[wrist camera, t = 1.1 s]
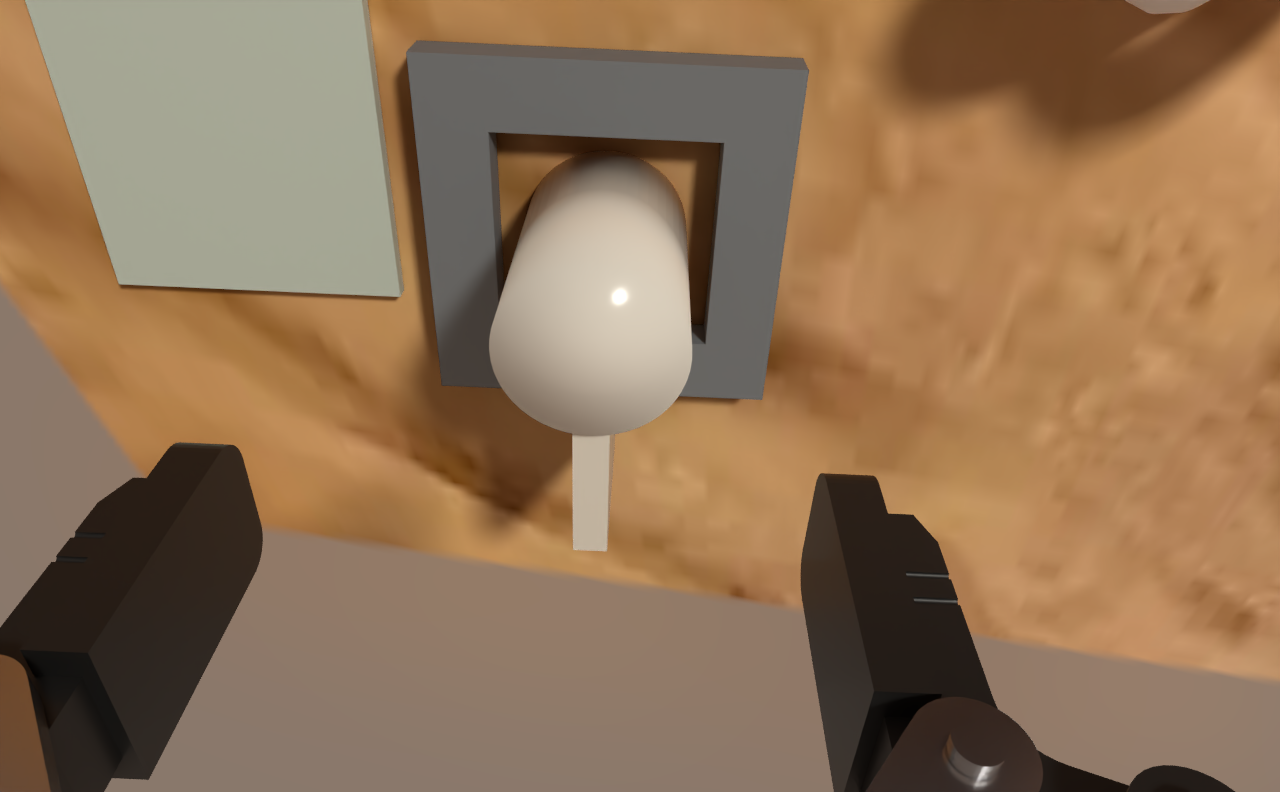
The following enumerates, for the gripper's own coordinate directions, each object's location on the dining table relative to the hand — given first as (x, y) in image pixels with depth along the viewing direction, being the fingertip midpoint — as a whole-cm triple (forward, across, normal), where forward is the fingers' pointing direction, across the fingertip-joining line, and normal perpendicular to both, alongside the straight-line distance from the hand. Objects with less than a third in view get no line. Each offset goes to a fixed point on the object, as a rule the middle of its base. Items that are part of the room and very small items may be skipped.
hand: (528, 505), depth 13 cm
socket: (+22, 0, +6) cm, 23 cm away
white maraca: (+22, 0, +8) cm, 23 cm away
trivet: (+22, +14, +3) cm, 26 cm away
